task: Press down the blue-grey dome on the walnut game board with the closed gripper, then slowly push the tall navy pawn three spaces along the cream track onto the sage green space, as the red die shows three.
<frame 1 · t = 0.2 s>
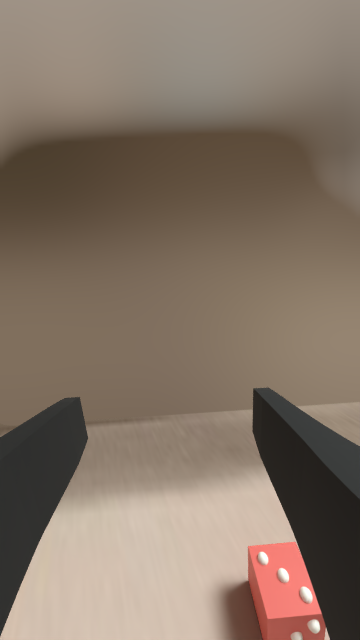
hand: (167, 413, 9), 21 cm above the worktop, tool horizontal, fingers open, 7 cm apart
red die: (281, 611, 18), on the worktop
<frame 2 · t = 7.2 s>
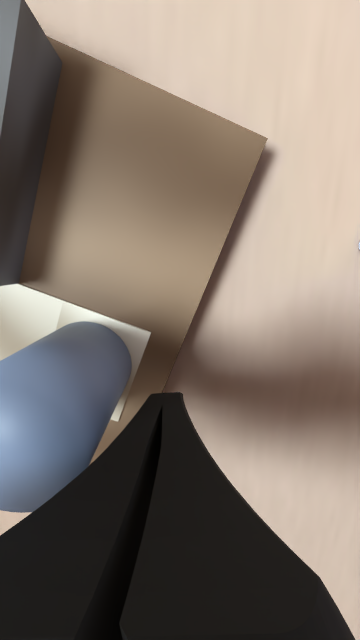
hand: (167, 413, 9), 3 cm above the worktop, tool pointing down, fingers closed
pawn: (88, 362, 10), point 1 cm above the worktop, touching game board, gripper
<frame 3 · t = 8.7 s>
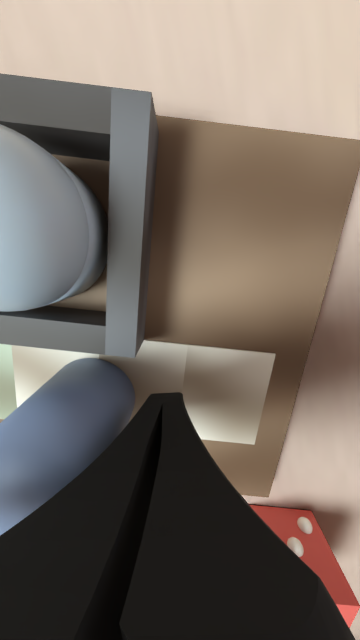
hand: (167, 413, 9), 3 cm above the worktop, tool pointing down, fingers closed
red die: (272, 530, 14), on the worktop
game board: (66, 324, 11), on the worktop
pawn: (93, 396, 11), point 1 cm above the worktop, touching game board
dome button: (5, 227, 7), point 3 cm above the worktop, slide at 0.7 cm, touching game board
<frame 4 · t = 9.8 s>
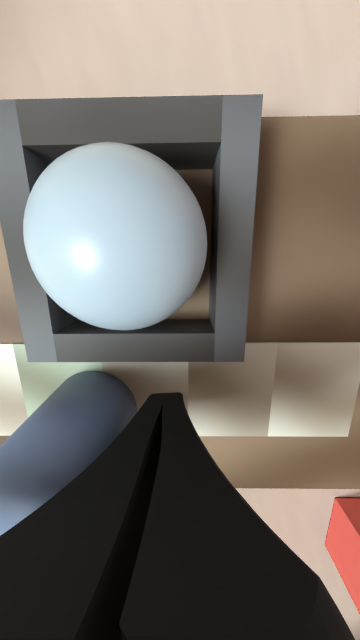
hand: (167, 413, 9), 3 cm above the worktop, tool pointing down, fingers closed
game board: (147, 335, 11), on the worktop
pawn: (96, 407, 11), point 1 cm above the worktop, touching gripper
dome button: (123, 247, 7), point 3 cm above the worktop, slide at 0.7 cm, touching game board
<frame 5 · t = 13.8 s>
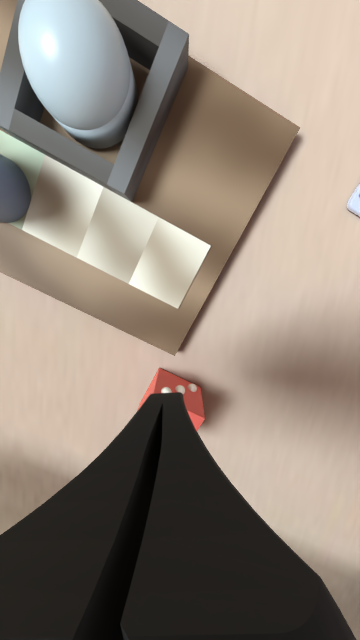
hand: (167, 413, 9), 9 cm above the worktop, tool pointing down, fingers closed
red die: (169, 395, 20), on the worktop
game board: (82, 177, 15), on the worktop
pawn: (0, 190, 15), point 1 cm above the worktop, touching game board
dome button: (80, 70, 11), point 3 cm above the worktop, slide at 0.7 cm, touching game board
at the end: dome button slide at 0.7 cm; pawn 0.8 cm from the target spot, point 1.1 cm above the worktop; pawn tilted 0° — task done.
